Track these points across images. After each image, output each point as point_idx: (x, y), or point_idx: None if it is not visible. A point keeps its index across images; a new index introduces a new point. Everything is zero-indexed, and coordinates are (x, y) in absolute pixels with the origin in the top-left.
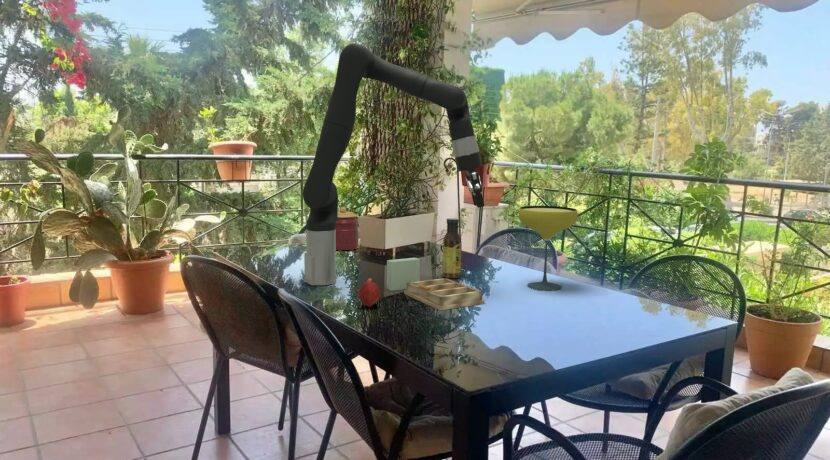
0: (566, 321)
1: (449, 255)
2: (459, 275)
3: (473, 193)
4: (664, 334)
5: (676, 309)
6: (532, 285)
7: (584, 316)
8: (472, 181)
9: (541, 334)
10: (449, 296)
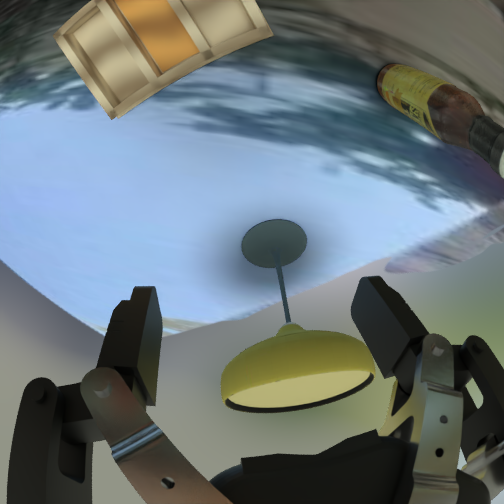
0: (59, 234)
1: (414, 86)
2: (385, 100)
3: (93, 384)
4: (62, 301)
5: None
6: (271, 228)
7: (90, 258)
8: (12, 491)
9: (2, 199)
10: (63, 51)
